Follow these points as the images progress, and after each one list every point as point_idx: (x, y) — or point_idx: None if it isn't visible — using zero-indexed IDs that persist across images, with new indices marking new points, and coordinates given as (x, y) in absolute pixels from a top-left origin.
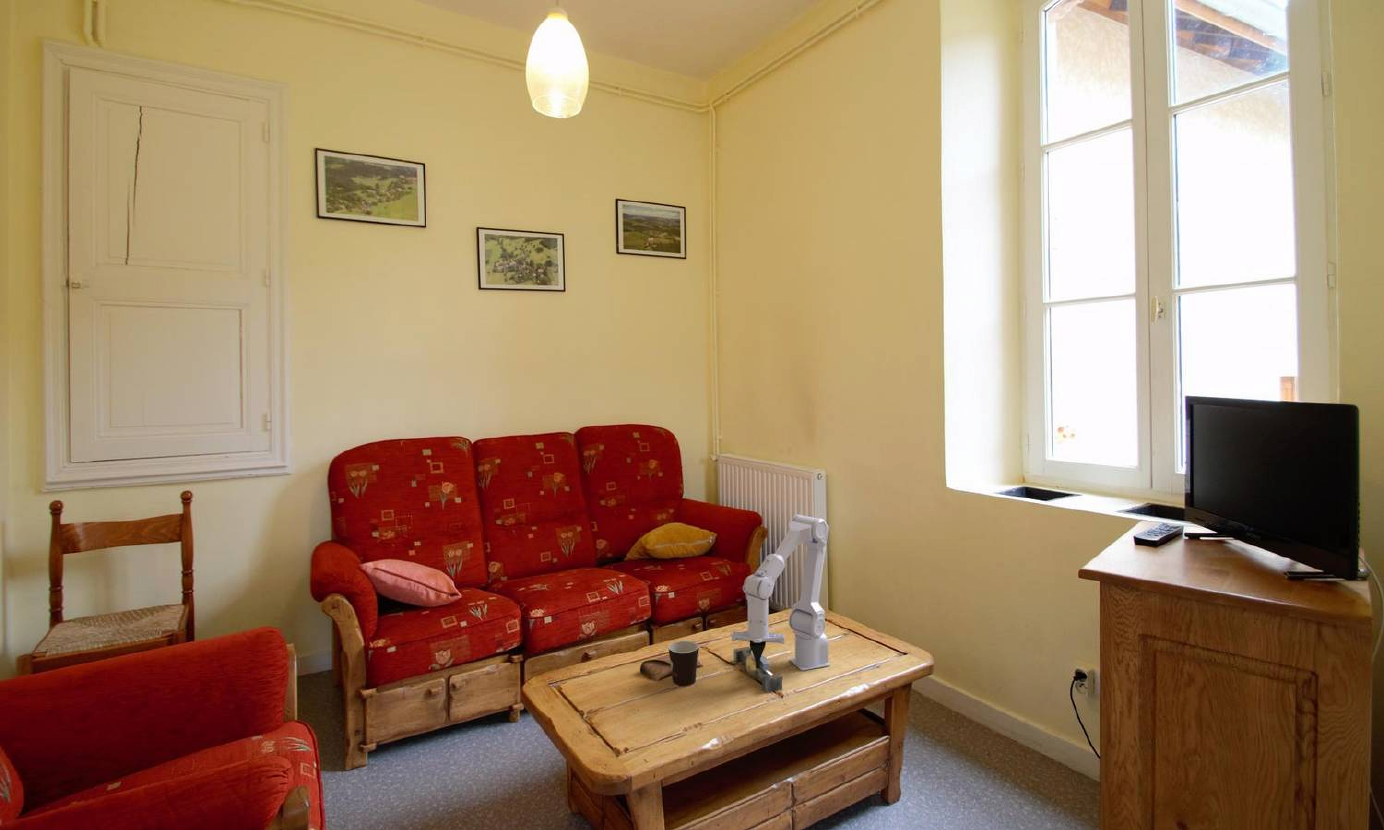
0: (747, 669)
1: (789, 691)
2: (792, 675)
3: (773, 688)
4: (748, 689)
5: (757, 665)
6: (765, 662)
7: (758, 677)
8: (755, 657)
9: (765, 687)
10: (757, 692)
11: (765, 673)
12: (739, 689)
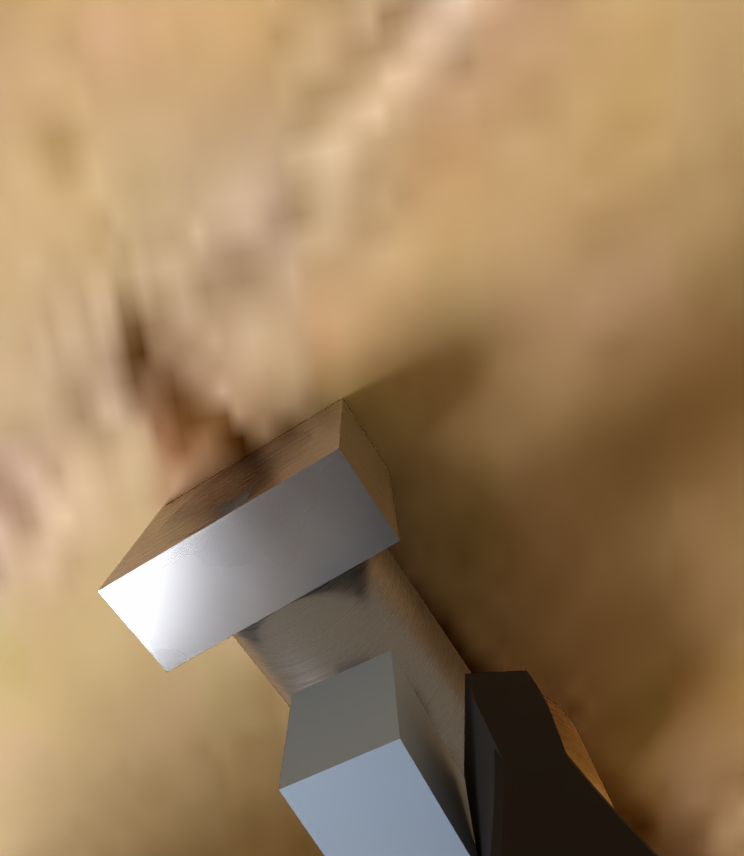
0: (601, 785)
1: (71, 484)
2: (113, 816)
3: (248, 462)
4: (548, 449)
5: (514, 705)
6: (365, 807)
7: (455, 649)
8: (630, 850)
9: (341, 416)
10: (439, 395)
11: (363, 657)
12: (653, 431)
